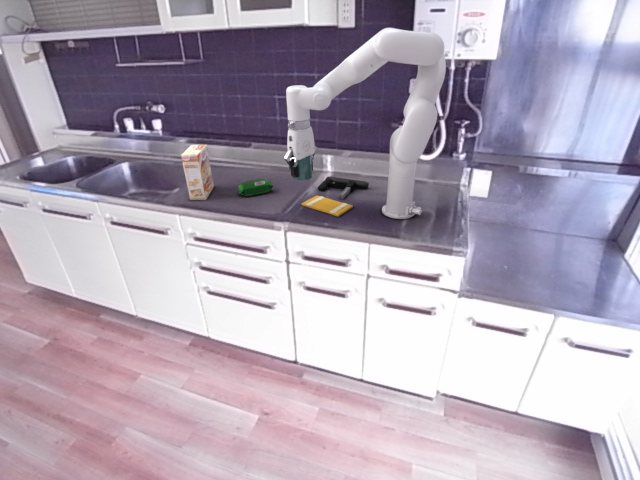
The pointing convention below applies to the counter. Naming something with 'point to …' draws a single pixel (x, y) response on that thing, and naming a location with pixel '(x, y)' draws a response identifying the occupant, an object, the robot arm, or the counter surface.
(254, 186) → the snack package
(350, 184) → the black toy gun
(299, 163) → the teal mug
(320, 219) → the counter surface
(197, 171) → the coffeecake box
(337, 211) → the towel
